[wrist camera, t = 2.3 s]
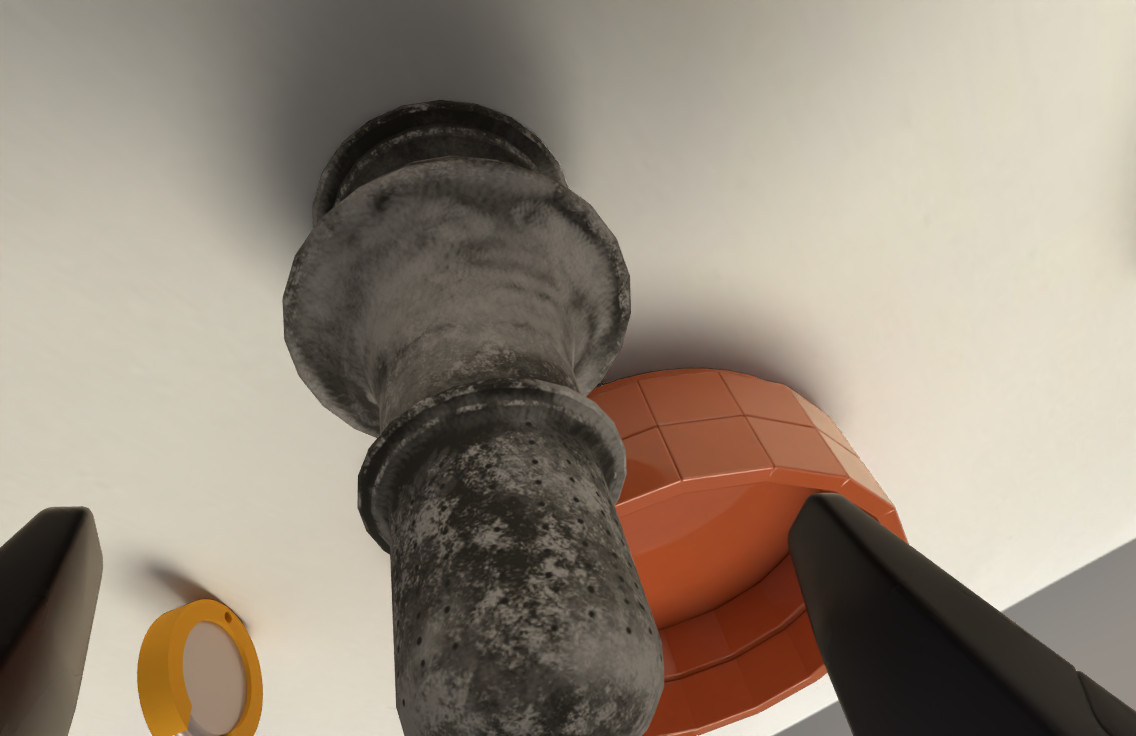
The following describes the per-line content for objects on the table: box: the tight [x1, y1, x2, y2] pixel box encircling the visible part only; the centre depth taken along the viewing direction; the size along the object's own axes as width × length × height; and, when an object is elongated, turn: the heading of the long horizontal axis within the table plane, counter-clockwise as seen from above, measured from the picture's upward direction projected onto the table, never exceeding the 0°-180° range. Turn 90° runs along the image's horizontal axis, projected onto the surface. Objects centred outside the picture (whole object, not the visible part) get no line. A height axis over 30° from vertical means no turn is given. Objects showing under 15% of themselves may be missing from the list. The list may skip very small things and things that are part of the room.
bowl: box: [586, 368, 908, 736], centre depth 21 cm, size 12×12×4 cm
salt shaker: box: [283, 100, 664, 736], centre depth 11 cm, size 6×6×12 cm
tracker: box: [137, 599, 263, 736], centre depth 20 cm, size 4×1×4 cm, turn 18°
